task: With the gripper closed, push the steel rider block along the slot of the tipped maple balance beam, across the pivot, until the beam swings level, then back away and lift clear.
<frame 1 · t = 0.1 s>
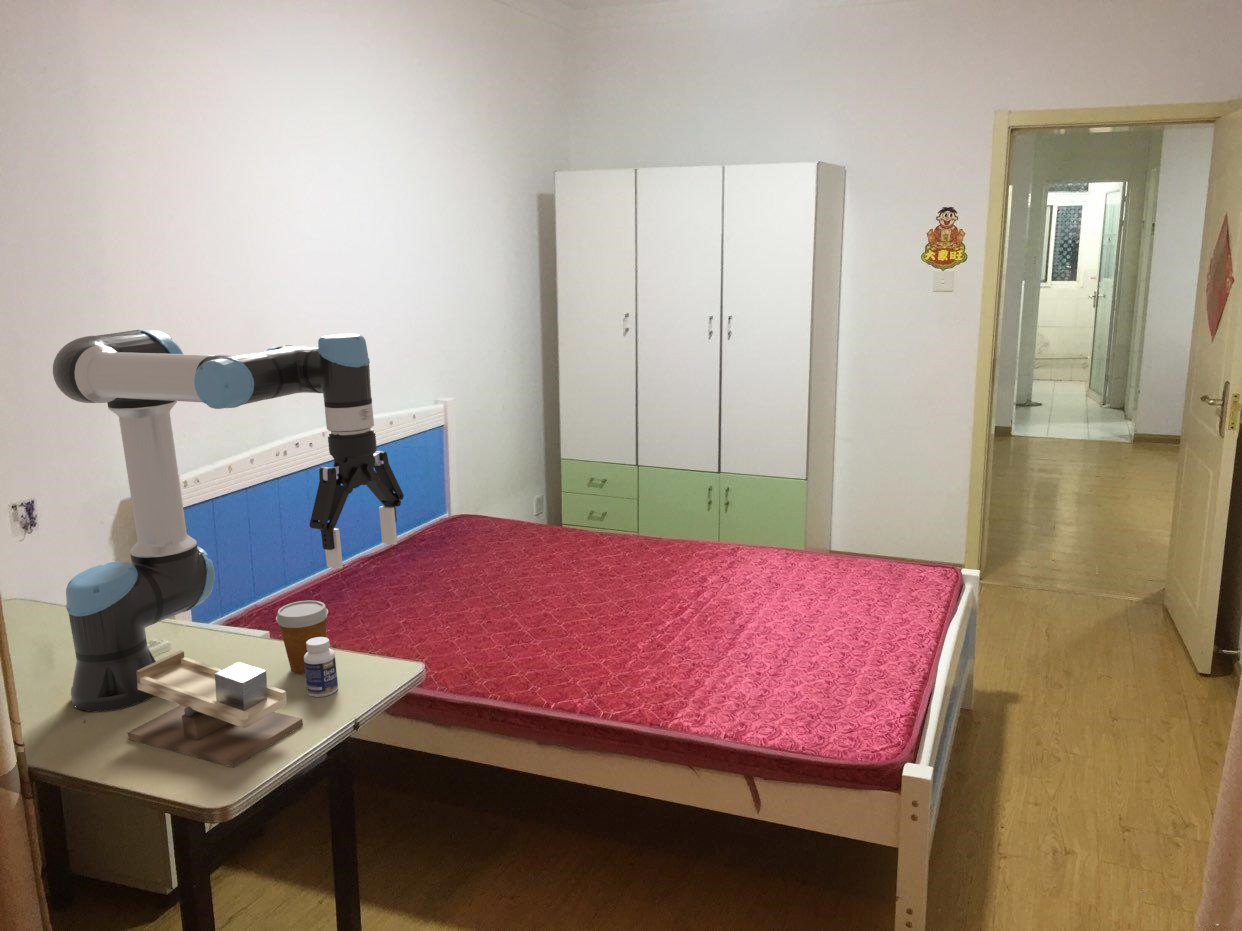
hand: (363, 555, 169), 28 cm above the table, tool pointing down, fingers open, 13 cm apart
steel rider: (242, 699, 165), point 7 cm above the table, tilted 6°, touching balance beam
balance beam: (211, 690, 167), point 8 cm above the table, hinge at 5.8°, touching steel rider
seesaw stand: (216, 732, 169), on the table
pill bottle: (323, 692, 183), on the table
disposable coffee cup: (308, 668, 194), on the table
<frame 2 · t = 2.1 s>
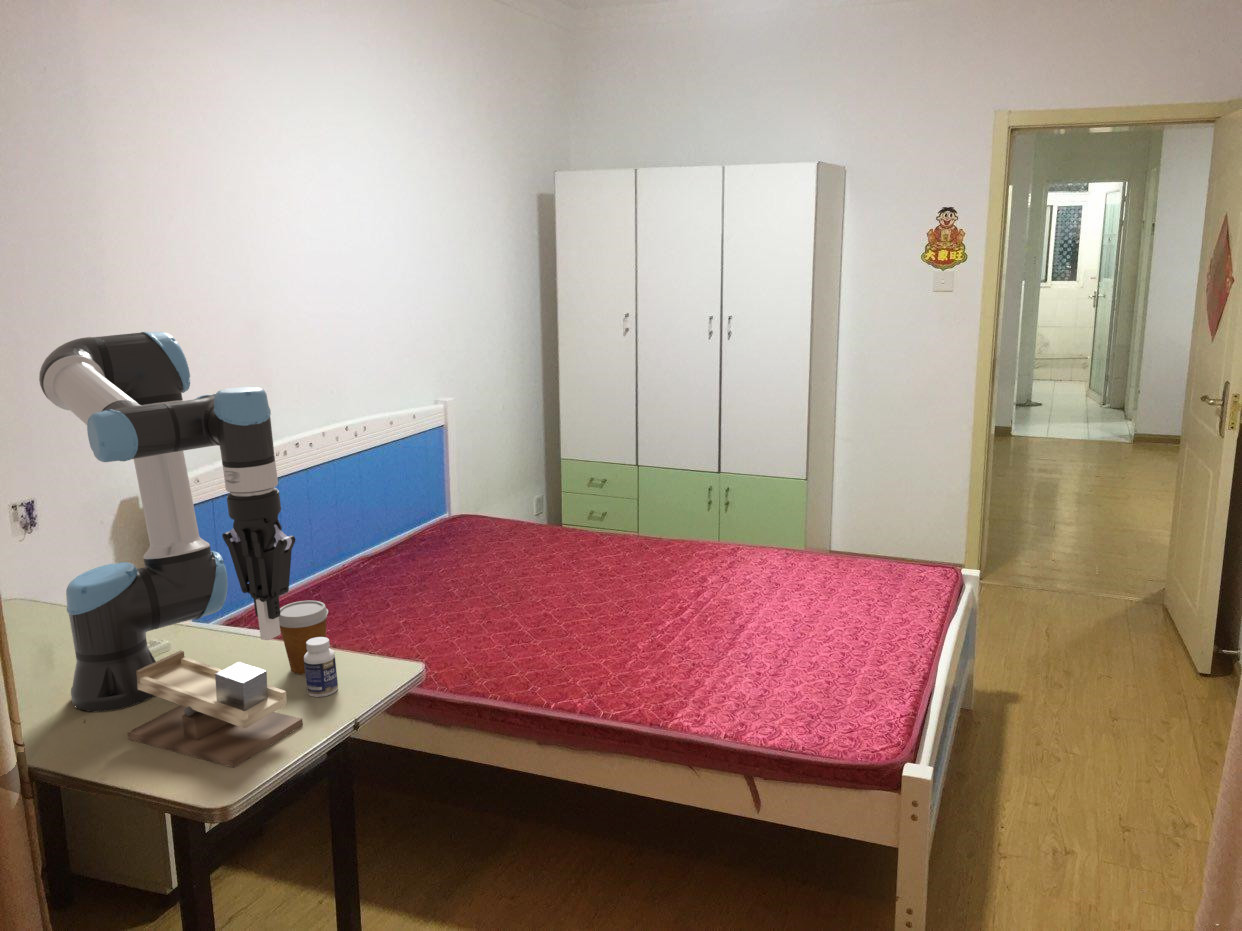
hand: (270, 636, 158), 19 cm above the table, tool pointing down, fingers closed
nothing on the table moved.
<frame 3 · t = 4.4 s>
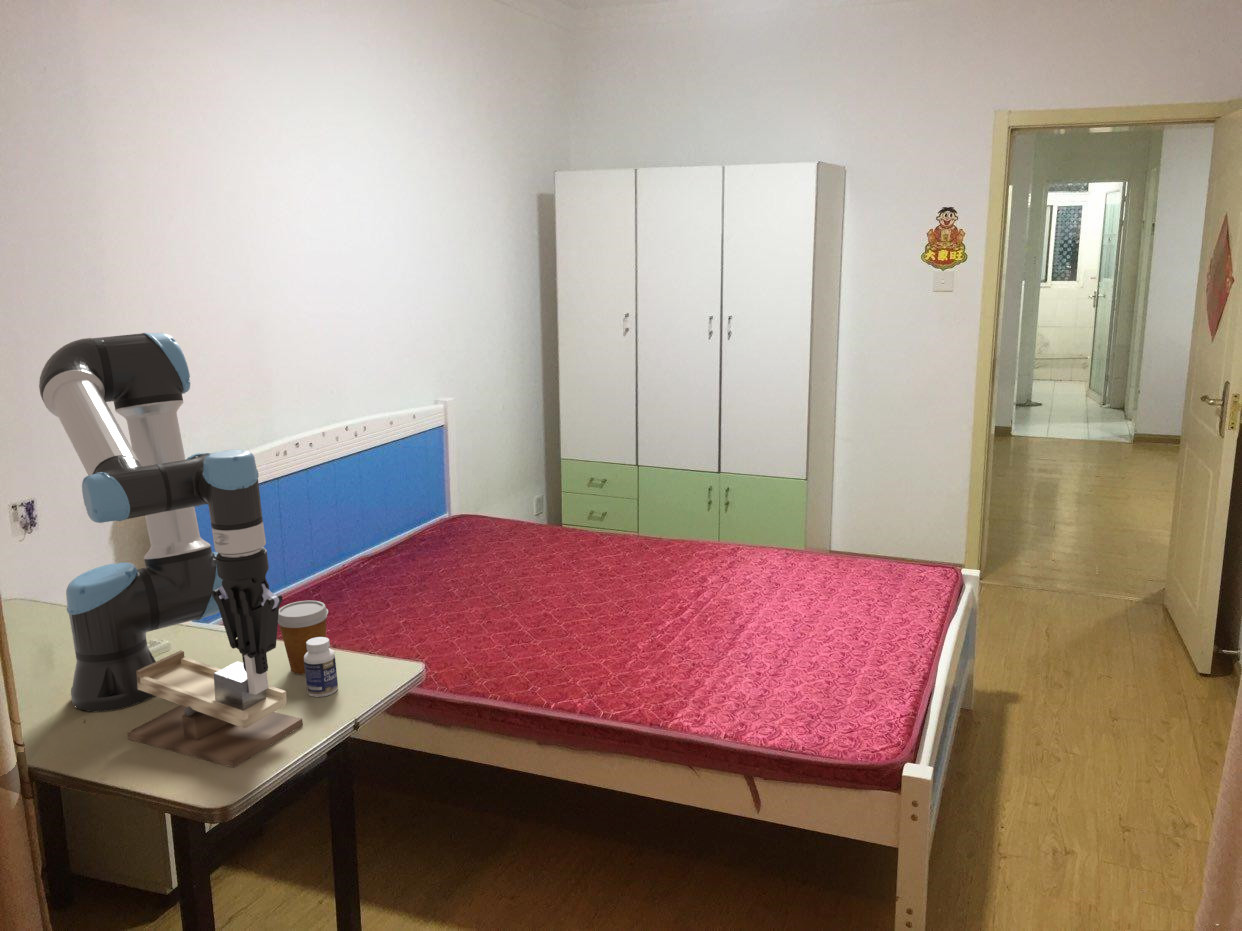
hand: (258, 690, 162), 9 cm above the table, tool pointing down, fingers closed
steel rider: (240, 699, 165), point 7 cm above the table, tilted 6°, touching gripper
balance beam: (211, 690, 167), point 8 cm above the table, hinge at 5.8°
everything else where it was.
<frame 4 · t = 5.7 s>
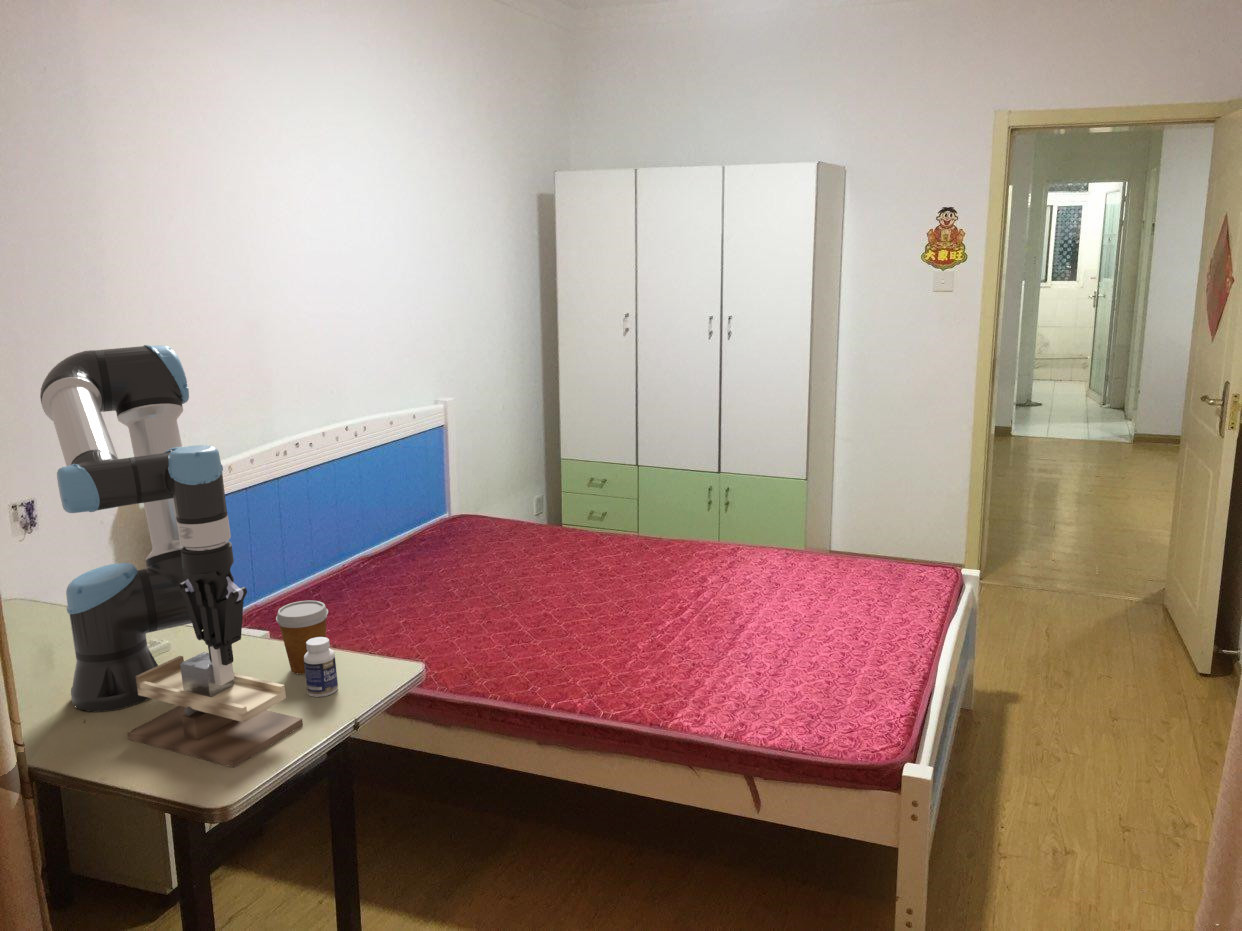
hand: (224, 681, 166), 10 cm above the table, tool pointing down, fingers closed
steel rider: (208, 688, 168), point 8 cm above the table, touching gripper
balance beam: (210, 690, 167), point 8 cm above the table, hinge at 0.8°
everything else where it was.
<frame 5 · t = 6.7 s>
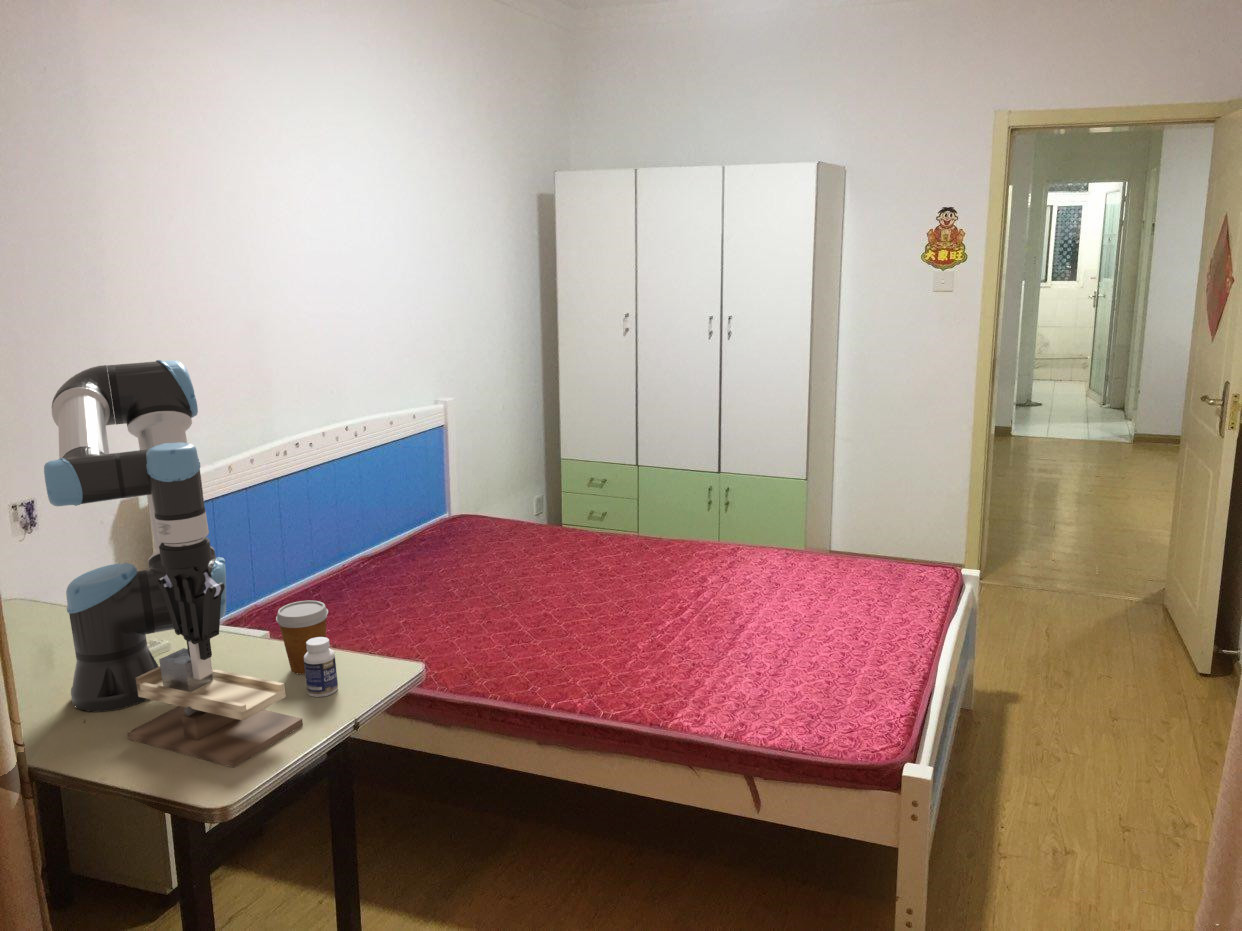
hand: (203, 675, 168), 10 cm above the table, tool pointing down, fingers closed
steel rider: (188, 684, 170), point 8 cm above the table, touching balance beam
balance beam: (210, 690, 167), point 8 cm above the table, hinge at -0.6°, touching steel rider
everything else where it was.
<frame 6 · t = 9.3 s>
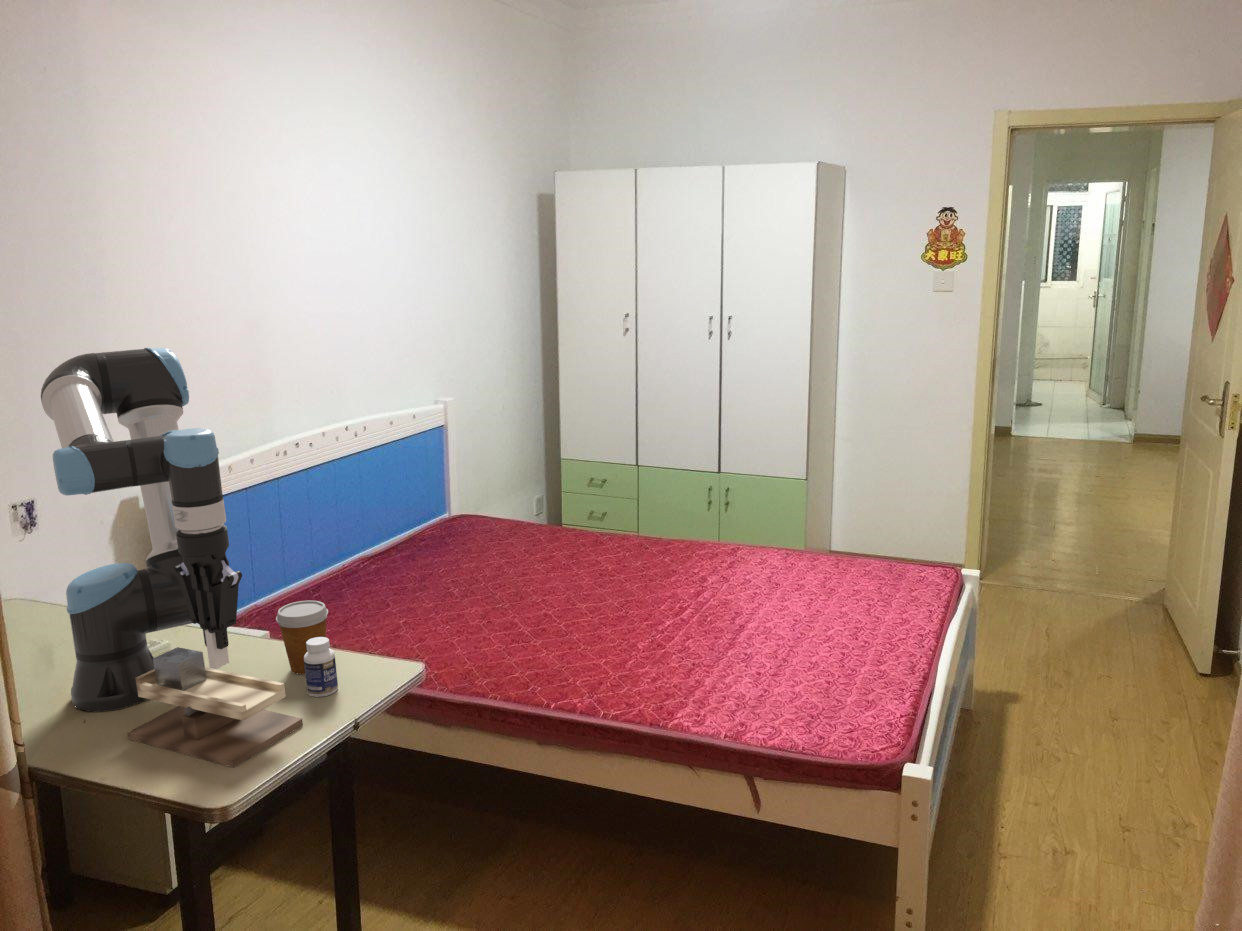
hand: (219, 665, 165), 12 cm above the table, tool pointing down, fingers closed
steel rider: (182, 682, 170), point 8 cm above the table, touching balance beam
everything else where it was.
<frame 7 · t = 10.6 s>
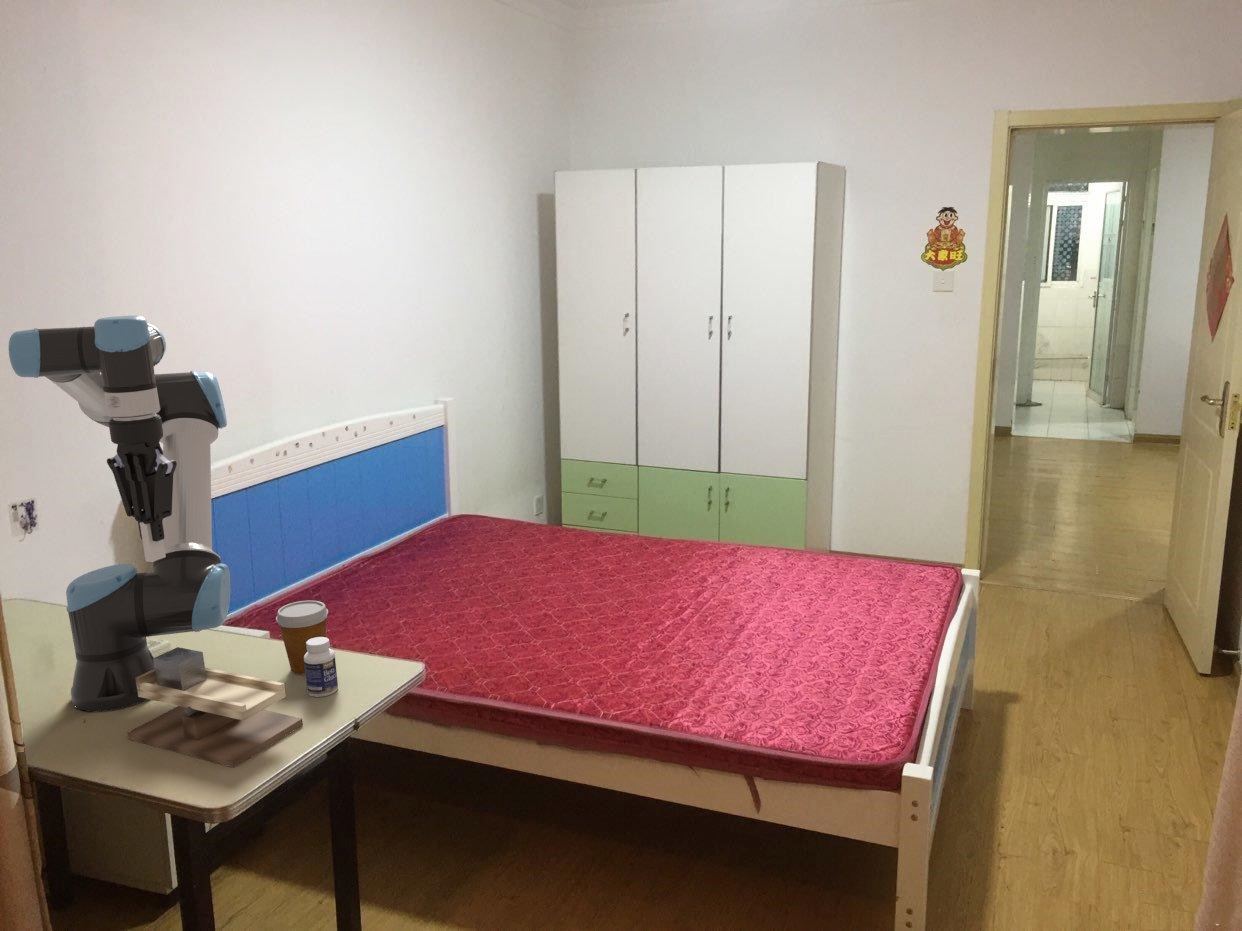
hand: (155, 558, 164), 30 cm above the table, tool pointing down, fingers closed
nothing on the table moved.
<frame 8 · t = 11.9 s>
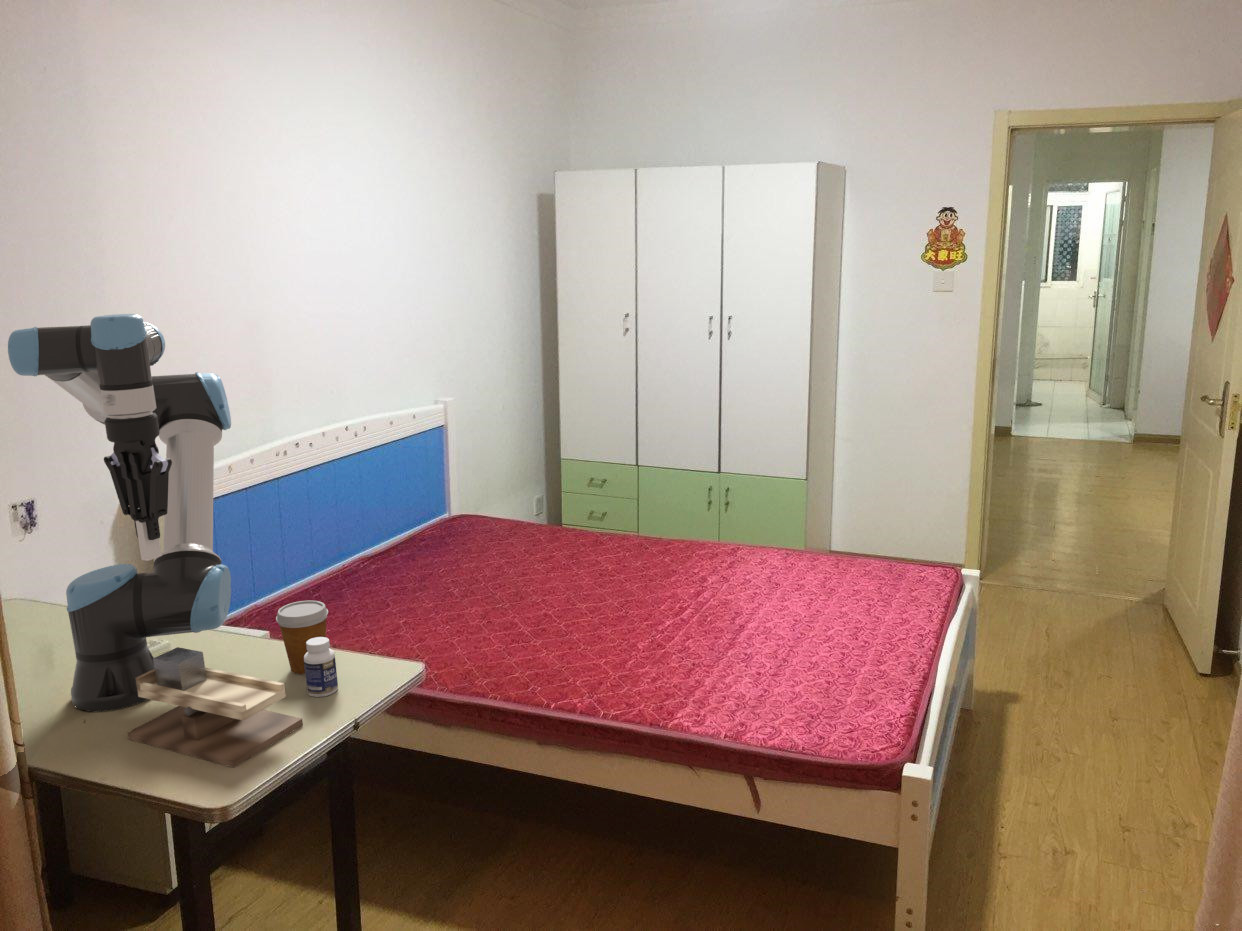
hand: (151, 557, 164), 30 cm above the table, tool pointing down, fingers closed
nothing on the table moved.
at the end: balance beam at -1° (first picture: +6°); steel rider 0.7 cm from the target spot on the balance beam, point 1.7 cm above the balance beam's base; steel rider tilted 1° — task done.
